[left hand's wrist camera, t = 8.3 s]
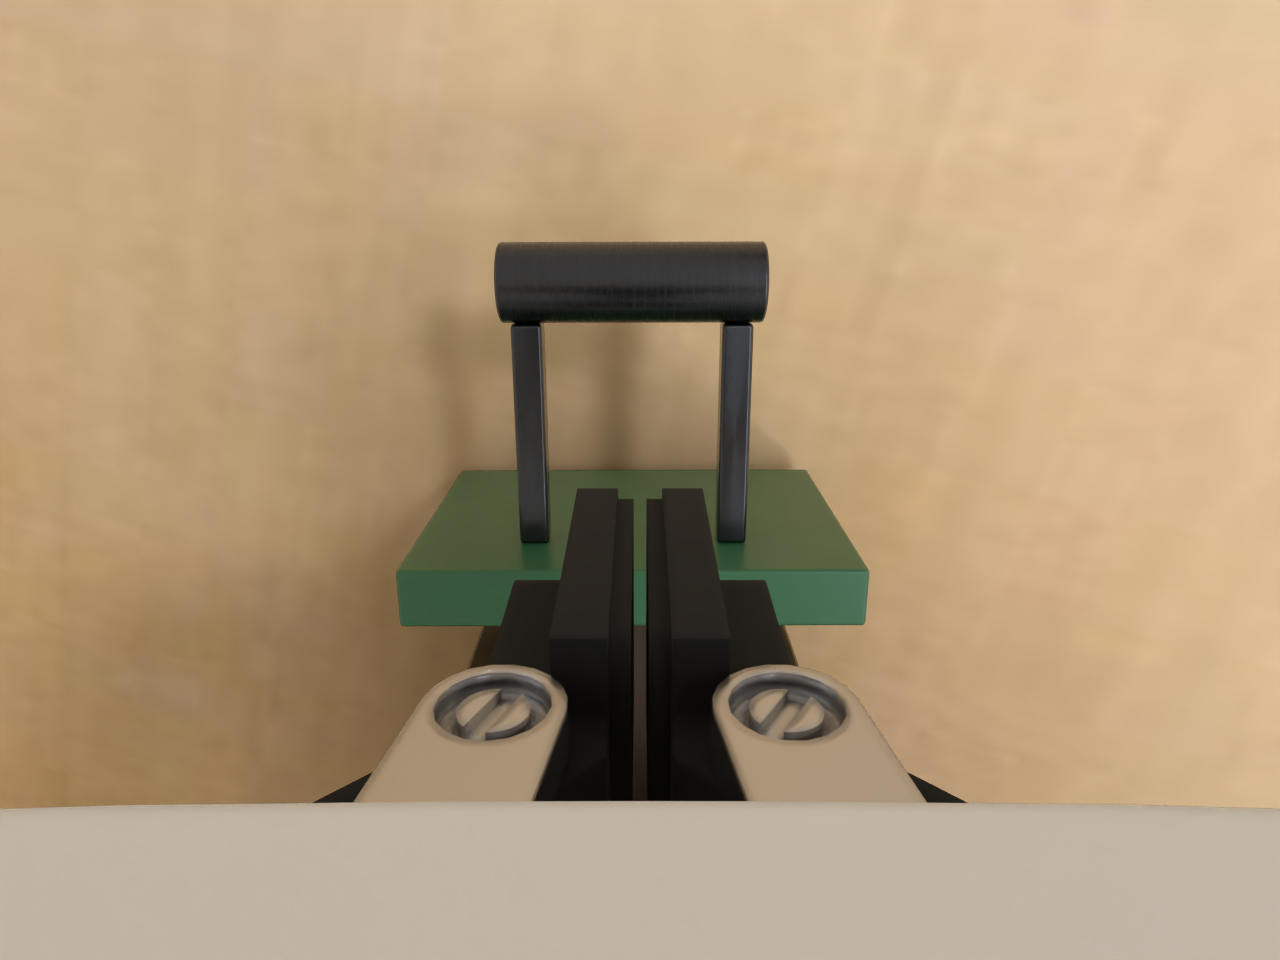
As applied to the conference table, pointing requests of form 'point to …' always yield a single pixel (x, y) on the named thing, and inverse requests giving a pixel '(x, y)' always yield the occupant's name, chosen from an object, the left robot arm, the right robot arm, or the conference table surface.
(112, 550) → the conference table surface
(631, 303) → the drawer
